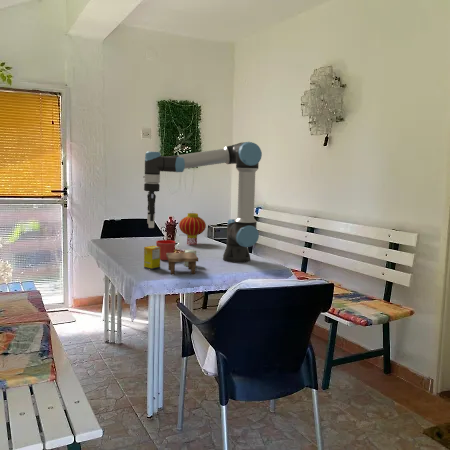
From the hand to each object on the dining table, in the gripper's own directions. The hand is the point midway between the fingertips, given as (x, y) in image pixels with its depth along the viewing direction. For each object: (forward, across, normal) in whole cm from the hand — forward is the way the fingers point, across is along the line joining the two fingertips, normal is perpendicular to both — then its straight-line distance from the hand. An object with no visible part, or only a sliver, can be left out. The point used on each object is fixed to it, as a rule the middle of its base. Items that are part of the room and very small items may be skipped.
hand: (150, 225), depth 242 cm
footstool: (+21, +9, +15) cm, 28 cm away
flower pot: (+22, -21, +10) cm, 32 cm away
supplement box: (+22, +1, +1) cm, 22 cm away
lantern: (+21, -64, +30) cm, 74 cm away
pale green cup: (+21, -3, +21) cm, 30 cm away
